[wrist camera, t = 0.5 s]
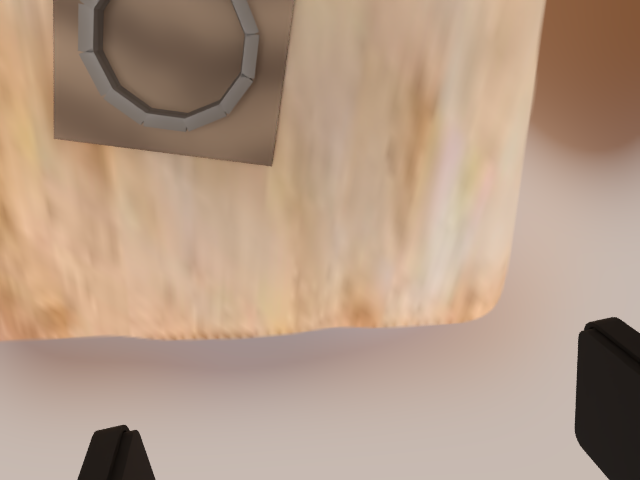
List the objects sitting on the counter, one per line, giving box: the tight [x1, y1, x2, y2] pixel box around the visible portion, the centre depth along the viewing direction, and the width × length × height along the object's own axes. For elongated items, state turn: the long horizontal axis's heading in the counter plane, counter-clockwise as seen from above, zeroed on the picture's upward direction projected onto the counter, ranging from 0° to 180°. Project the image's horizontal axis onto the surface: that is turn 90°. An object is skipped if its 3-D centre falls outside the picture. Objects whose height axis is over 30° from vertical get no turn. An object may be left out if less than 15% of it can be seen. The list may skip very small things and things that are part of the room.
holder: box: [53, 0, 294, 166], centre depth 33 cm, size 14×14×4 cm
